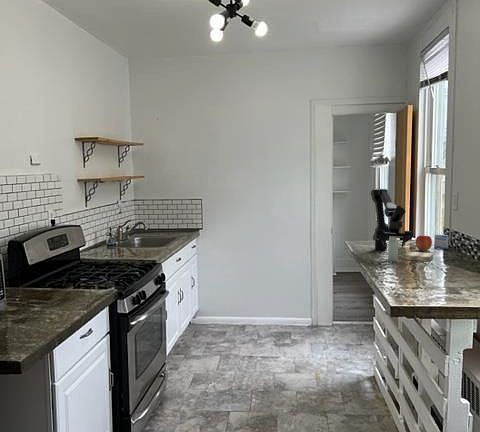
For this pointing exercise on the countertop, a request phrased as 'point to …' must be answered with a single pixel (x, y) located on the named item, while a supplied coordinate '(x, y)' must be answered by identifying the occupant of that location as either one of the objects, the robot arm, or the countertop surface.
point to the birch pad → (419, 256)
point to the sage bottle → (393, 249)
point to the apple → (423, 243)
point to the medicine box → (441, 241)
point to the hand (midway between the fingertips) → (393, 247)
